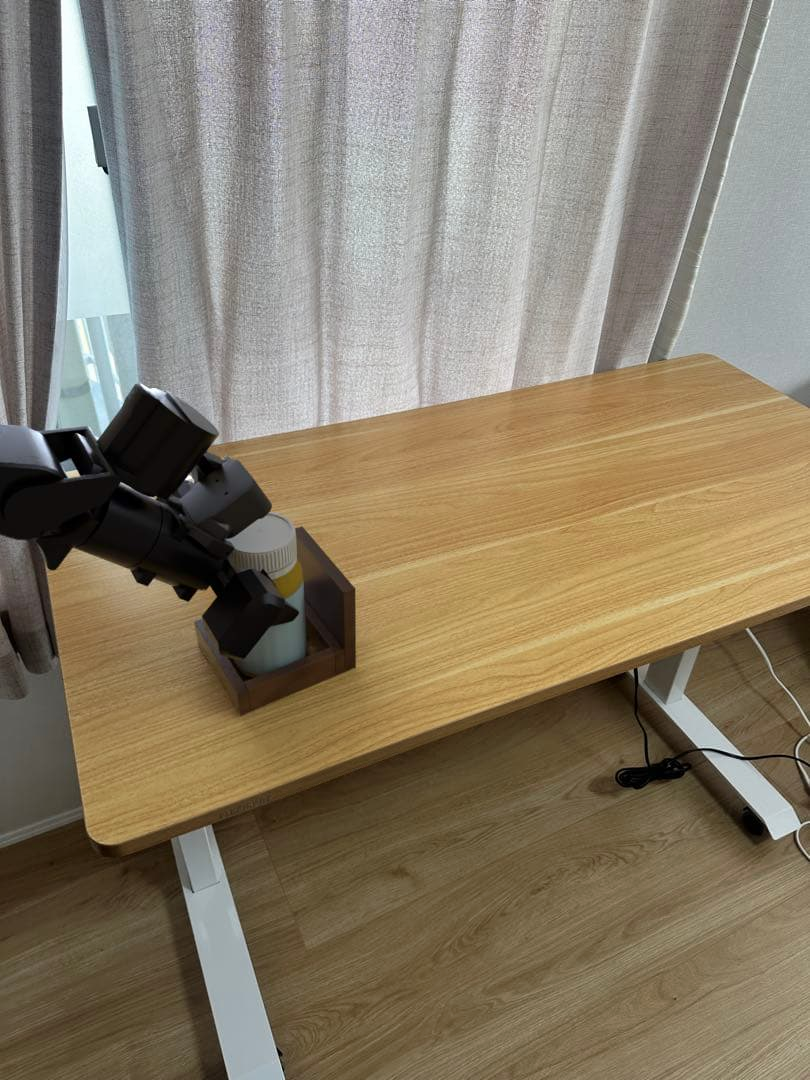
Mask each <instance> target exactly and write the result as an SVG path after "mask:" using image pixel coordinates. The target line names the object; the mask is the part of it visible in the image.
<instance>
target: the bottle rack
mask: <svg viewBox="0 0 810 1080" xmlns="http://www.w3.org/2000/svg"><path fill="white" fill-rule="evenodd" d="M295 531H296V545H297V559H298V561H299V563H300V564H301V567H302V572H303V584H304V603H305V622H306V638H308V640H309V641H310V643H311V644H312V645H313V647H314V648H315V649H316V651H317V652H315V653H312V654H309V655H306V657H305V658H303V659H300V660H298V661H295V662H293V663H290V664H288V665H285V666H283V667H280V668H278V669H275V670H273V671H270V672H268V673H265V674H263V675H260V676H258V677H255V678H250V679H247V680H246V681H243V679H242V678H241V676H240V674H239V673H238V671H237V669H236V668H235V667H234V664H233V663H232V661H231V659H230V658H229V657H226V656H223V655H220V654H219V652H218V651H217V649H216V647H215V646H214V644H213V642H212V641H211V639H210V637H209V636H208V634H207V632H206V631H205V629H204V626H203V620H202V617H201V618H199V619H195V620H194V621H193V623H194V629H195V635H196V640H197V641H196V642H197V644H198V646H199V648H200V649H201V651H202V653H203V655H204V656H205V658H206V660H207V661H208V663H209V665H210V667H211V668H212V670H213V673H214V674H215V676H216V677H217V679H218V680H219V682H220V684H221V685H222V687H223V689H224V692H225V693H226V694H227V696H228V698H229V700H230V701H231V703H232V705H233V706H234V708H235V710H236V712H237V713H238V715H239V716H240V717H242V716H244V715H246V714H249V713H251V712H254V711H256V710H258V709H261V708H262V707H265V706H268V705H271V704H273V703H275V702H277V701H280V700H282V699H284V698H287V697H289V696H291V695H294V694H296V693H299V692H301V691H303V690H306V689H308V688H310V687H313V686H315V685H318V684H320V683H323V682H324V681H327V680H329V679H332V678H334V677H336V676H339V675H342V674H344V673H346V672H348V671H351V670H353V669H355V668H357V639H356V638H357V637H356V636H357V635H356V634H357V633H356V632H357V631H356V630H357V628H356V627H357V625H356V624H357V621H356V619H357V618H356V612H357V611H356V587H355V586H354V585H353V584H352V583H351V582H350V580H349V579H348V578H347V577H346V575H344V573H343V572H342V571H341V570H340V569H339V567H338V565H336V564H335V562H333V560H332V559H331V558H330V557H329V556H328V555H327V553H326V552H325V551H324V550H323V549H322V547H320V545H319V544H318V542H317V541H315V539H314V538H313V537H312V536H311V535H310V534H309V532H308V531H307V530H306V528H304V526H302V525H301V526H298V527H295Z"/></svg>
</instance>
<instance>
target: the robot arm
mask: <svg viewBox="0 0 810 1080" xmlns="http://www.w3.org/2000/svg"><path fill="white" fill-rule="evenodd" d="M219 436H220V432H219V430H218V429H217V427H215V425H214V424H213V423H212V422H211V421H210V420H209V419H208V418H206V416H204V415H203V414H202V413H201V412H199V411H198V410H197V409H195V408H194V407H193V406H191V405H190V404H188V403H187V402H186V401H184V400H182V398H180V397H179V396H177V395H175V394H173V393H172V392H170V391H169V390H167V391H166V392H165V391H163V390H160V389H159V388H156V387H152V388H148V386H145V385H144V384H142V383H141V382H137V383H135V384H133V386H132V388H131V389H130V391H128V393H127V395H126V396H125V399H124V401H123V403H122V406H121V407H120V409H119V410H118V412H117V413H116V415H114V416H113V419H112V420H111V421H110V423H109V424H108V425H107V426H106V428H105V429H104V431H103V432H102V433H101V435H100V436H99V437H98V436H96V434H95V433H94V430H93V429H92V428H91V427H90V426H89V425H82V426H72V427H63V428H56V429H55V428H54V429H46V430H45V429H44V430H34V429H32V428H30V427H26V426H22V425H14V424H5V423H0V536H2V537H5V538H7V539H12V540H16V541H31V540H34V542H35V543H36V544H37V546H38V549H39V551H40V554H41V556H42V558H43V561H44V564H45V566H46V568H47V569H48V570H49V571H56V570H57V569H59V567H60V566H61V564H62V563H63V562H64V561H65V559H66V558H67V556H68V555H69V554H70V553H71V551H72V550H73V549H75V550H78V551H80V552H83V553H86V554H88V555H91V556H93V557H96V558H98V559H102V560H104V561H106V562H108V563H111V564H114V565H117V566H119V567H122V568H125V569H127V570H129V571H130V573H131V574H132V576H133V578H134V580H135V582H136V584H139V585H142V586H144V587H149V586H150V584H151V583H152V581H153V580H155V581H159V582H160V583H164V584H166V585H169V586H171V587H172V589H173V591H174V593H176V596H177V597H178V599H180V600H182V601H185V602H188V603H189V602H190V601H191V600H192V599H193V597H194V596H195V595H196V594H197V592H198V591H202V592H206V591H207V590H208V589H209V588H210V589H211V590H212V591H213V593H214V594H215V596H216V597H215V598H214V600H213V601H212V602H211V603H210V605H209V606H208V608H207V609H206V610H205V611H204V612H203V614H202V615H201V618H202V620H203V626H204V629H205V631H206V632H207V634H208V636H209V637H210V639H211V641H212V642H213V644H214V646H215V647H216V649H217V651H218V652H219V654H220V655H223V656H226V657H228V658H229V659H232V660H233V659H236V660H242V659H245V658H246V656H247V655H248V654H249V653H250V651H251V650H252V649H253V648H254V646H255V645H256V644H257V643H258V641H259V640H260V639H261V638H262V636H263V635H264V634H265V632H266V631H267V630H268V629H269V627H272V626H276V625H280V624H284V623H289V622H292V621H294V620H295V618H296V617H297V616H298V615H299V611H298V610H297V609H296V608H295V607H293V606H292V605H291V604H289V603H288V602H286V601H285V599H284V597H283V596H282V595H281V593H280V592H279V591H278V589H277V587H276V585H275V583H274V582H273V581H272V579H271V578H270V577H269V575H268V574H267V573H266V571H265V570H264V569H262V570H261V572H259V571H256V570H254V569H252V568H249V569H246V570H243V571H240V572H238V571H237V569H236V568H235V566H234V565H233V563H232V562H231V561H230V559H229V558H228V557H229V555H230V554H231V553H232V551H233V550H234V549H235V547H234V546H233V544H232V543H231V542H230V541H227V540H225V539H230V538H233V537H235V536H236V535H238V534H239V533H240V532H242V531H243V530H244V529H246V528H247V527H248V526H250V525H251V524H252V523H254V522H255V521H256V520H258V519H262V518H264V517H265V516H266V515H267V514H268V513H269V512H272V509H273V503H272V502H271V500H270V499H269V497H268V496H267V495H266V493H265V492H264V490H263V489H262V488H261V487H260V485H259V484H258V482H257V481H256V479H254V477H253V476H252V475H251V473H250V472H249V471H248V469H246V468H245V466H244V465H243V464H242V463H241V461H240V460H238V459H235V458H231V457H230V456H229V455H228V454H227V455H225V456H223V458H222V457H221V456H220V455H217V454H214V453H212V452H209V451H208V450H210V448H211V446H212V445H213V444H214V442H215V441H216V440H217V438H218V437H219ZM68 460H71V462H72V464H73V465H74V467H75V469H76V471H77V473H78V475H79V476H74V477H69V476H68V475H67V472H66V471H65V469H64V467H63V464H62V463H64V462H66V461H68ZM190 474H191V475H190ZM189 475H190V476H192V478H193V480H194V483H193V482H192V481H191V482H190V481H188V480H185V479H186V478H187V477H188V476H189ZM155 497H156V498H155Z"/></svg>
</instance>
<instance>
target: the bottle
mask: <svg viewBox="0 0 810 1080" xmlns="http://www.w3.org/2000/svg"><path fill="white" fill-rule="evenodd" d="M295 528H296V527H295V524H294V523H293V521H292V520H290V518H289V517H287V516H285V515H283V514H281V513H279V512H274V511H270V512H269V513H268V514H267V515H266V516H265V517H264V518H262V519H258V520H256V521H255V522H254V523H252V524H251V525H250V526H248V527H247V528H246V529H244V530H243V531H242V532H240V533H239V534H238V535H236V536H235V537H233V538H230V539H225V540H227V541H230V542H231V543H232V544H233V546H234V547H235V549H234V550H233V551H232V553H231V554H230V555H229V557H228V558H229V559H230V561H231V562H232V563H233V565H234V566H235V568H236V569H237V571H238V572H240V571H243V570H246V569H249V568H252V569H254V570H256V571H259V572H261V570H262V569H264V570H265V571H266V573H267V574H268V575H269V577H270V578H271V579H272V581H273V582H274V583H275V585H276V587H277V589H278V591H279V592H280V593H281V595H282V596H283V597H284V599H285V601H286V602H288V603H289V604H291V605H292V606H293V607H295V608H296V609H297V610H298V611H299V615H298V616H297V617H296V618H295V620H294V621H292V622H289V623H284V624H280V625H276V626H272V627H269V629H268V630H267V631H266V632H265V634H264V635H263V636H262V638H261V639H260V640H259V641H258V643H257V644H256V645H255V646H254V648H253V649H252V650H251V651H250V653H249V654H248V655H247V656H246V658H245V659H242V660H236V659H232V660H233V664H234V665H235V667H236V670H238V671H239V672H241V673H242V674H243V675H245V676H247V677H249V678H251V679H253V678H255V677H258V676H260V675H263V674H265V673H268V672H270V671H273V670H275V669H278V668H280V667H283V666H285V665H288V664H290V663H293V662H295V661H298V660H300V659H303V658H305V657H307V654H308V652H307V651H308V649H307V648H308V643H307V642H308V641H307V636H306V622H305V603H304V584H303V572H302V567H301V564H300V563H299V561H298V559H297V545H296V531H295Z"/></svg>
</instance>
